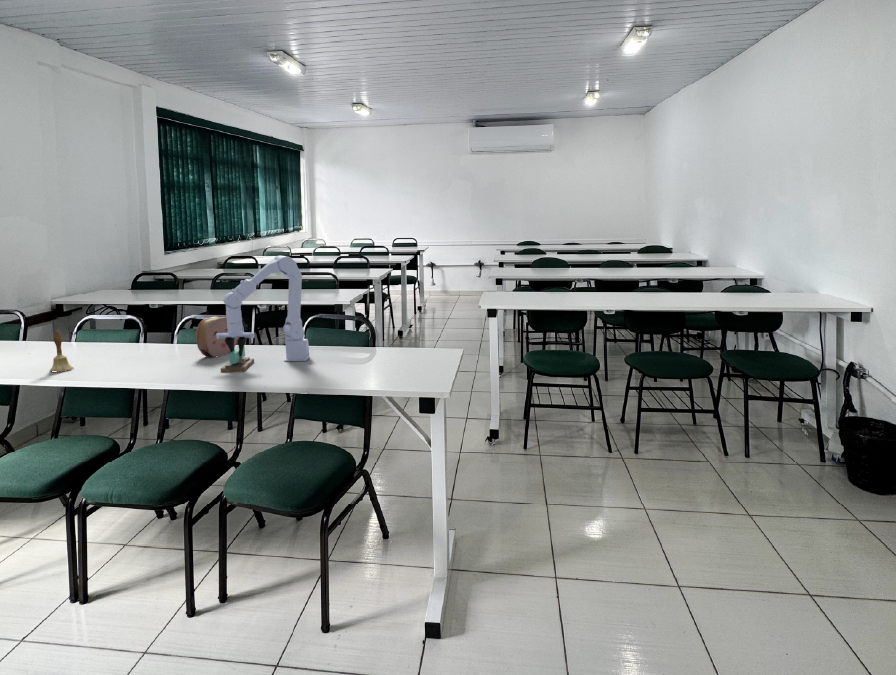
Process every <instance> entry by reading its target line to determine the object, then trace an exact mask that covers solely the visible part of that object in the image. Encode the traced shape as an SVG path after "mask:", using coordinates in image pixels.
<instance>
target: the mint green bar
mask: <svg viewBox="0 0 896 675" xmlns="http://www.w3.org/2000/svg"><path fill="white" fill-rule="evenodd" d="M234 349H235V350H234V351H232V352H231V353H228V358H229V359H228V360H229V361H230V364H236V363H237V362H239V358H243V357H245V356H246V352H245V350H246V349H245V346H244V348H243V354H242V356H239V346H238V347H235V348H234ZM229 361H228V362H229Z"/></svg>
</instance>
